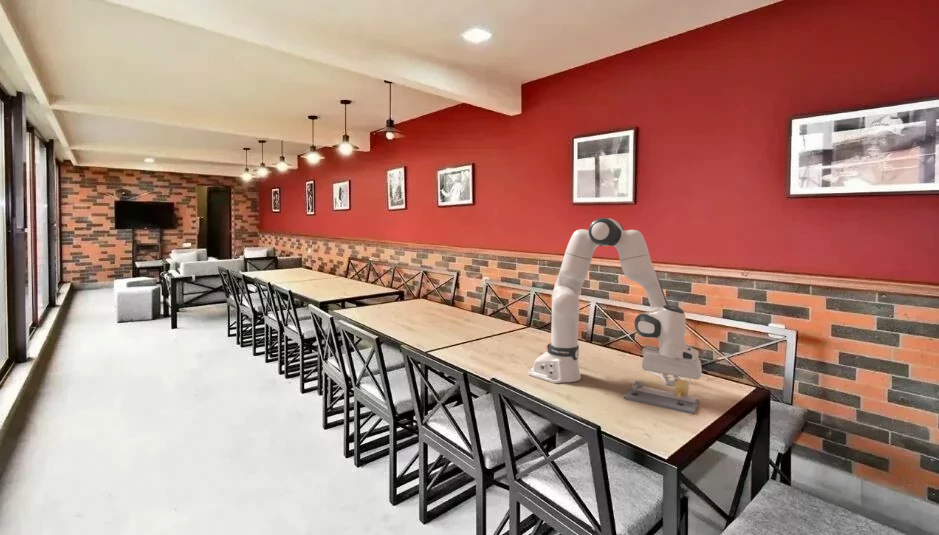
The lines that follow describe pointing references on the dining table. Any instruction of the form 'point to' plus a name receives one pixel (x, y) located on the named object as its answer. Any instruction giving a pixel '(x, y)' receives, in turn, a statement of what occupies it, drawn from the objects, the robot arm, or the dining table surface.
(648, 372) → the scissors
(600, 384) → the dining table surface
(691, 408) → the plate
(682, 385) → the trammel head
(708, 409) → the dining table surface
